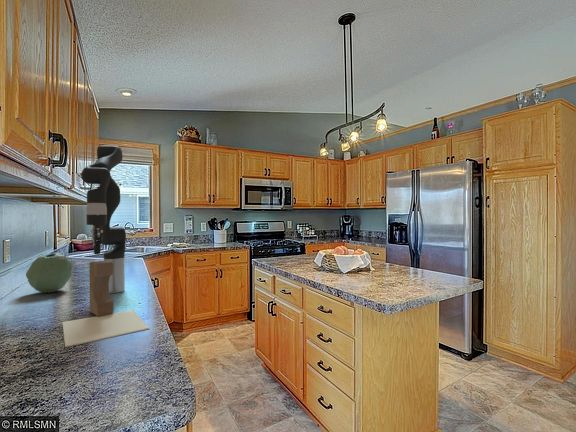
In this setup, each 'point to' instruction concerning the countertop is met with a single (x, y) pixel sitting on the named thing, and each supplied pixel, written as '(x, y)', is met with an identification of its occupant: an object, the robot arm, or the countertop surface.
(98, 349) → the countertop surface
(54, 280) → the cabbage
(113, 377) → the countertop surface
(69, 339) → the sand mat
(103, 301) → the decorative block
